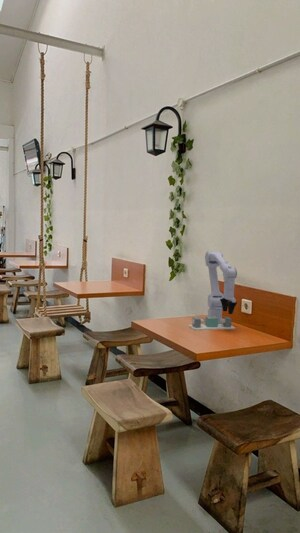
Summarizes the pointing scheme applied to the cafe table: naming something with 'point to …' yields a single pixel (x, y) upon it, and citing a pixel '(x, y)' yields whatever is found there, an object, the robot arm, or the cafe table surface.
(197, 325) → the shaft stand
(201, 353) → the cafe table surface
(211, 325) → the teal block
